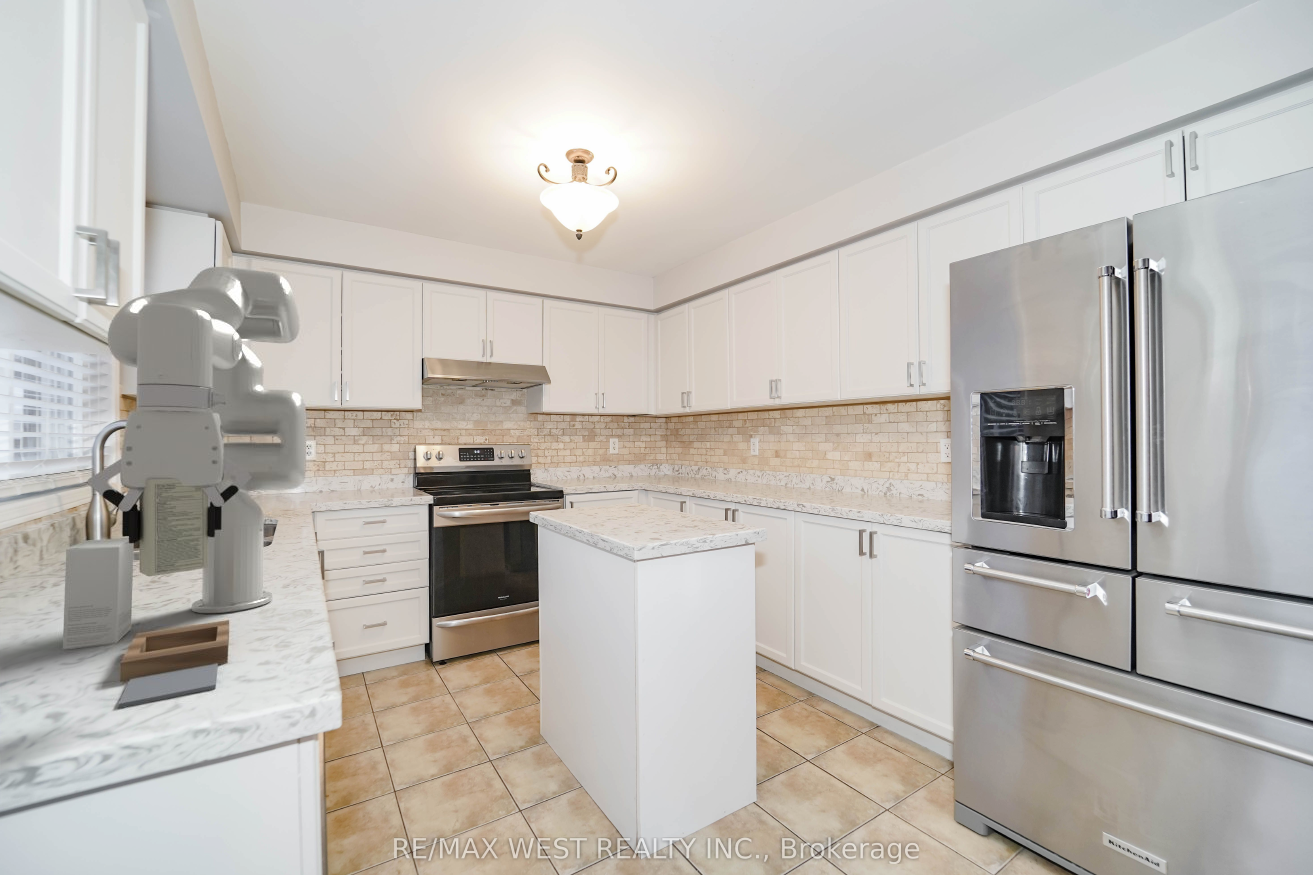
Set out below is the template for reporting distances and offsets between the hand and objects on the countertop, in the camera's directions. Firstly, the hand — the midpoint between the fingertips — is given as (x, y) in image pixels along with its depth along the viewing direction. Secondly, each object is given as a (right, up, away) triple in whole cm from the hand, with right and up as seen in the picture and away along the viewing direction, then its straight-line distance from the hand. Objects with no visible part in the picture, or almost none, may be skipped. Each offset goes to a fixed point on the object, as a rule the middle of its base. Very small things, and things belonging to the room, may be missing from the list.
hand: (174, 537), depth 74 cm
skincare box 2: (0, -4, 0) cm, 4 cm away
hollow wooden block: (-7, -19, +10) cm, 23 cm away
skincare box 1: (-27, -20, +17) cm, 37 cm away
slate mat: (0, -19, -1) cm, 19 cm away
